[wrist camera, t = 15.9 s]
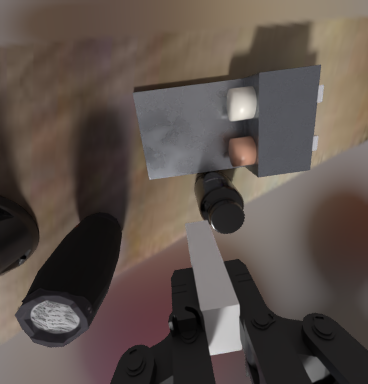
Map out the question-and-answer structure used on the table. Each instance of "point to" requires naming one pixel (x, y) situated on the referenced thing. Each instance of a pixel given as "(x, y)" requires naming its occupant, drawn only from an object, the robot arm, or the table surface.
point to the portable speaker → (72, 283)
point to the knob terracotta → (248, 150)
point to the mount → (230, 124)
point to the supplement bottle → (219, 202)
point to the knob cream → (248, 102)
